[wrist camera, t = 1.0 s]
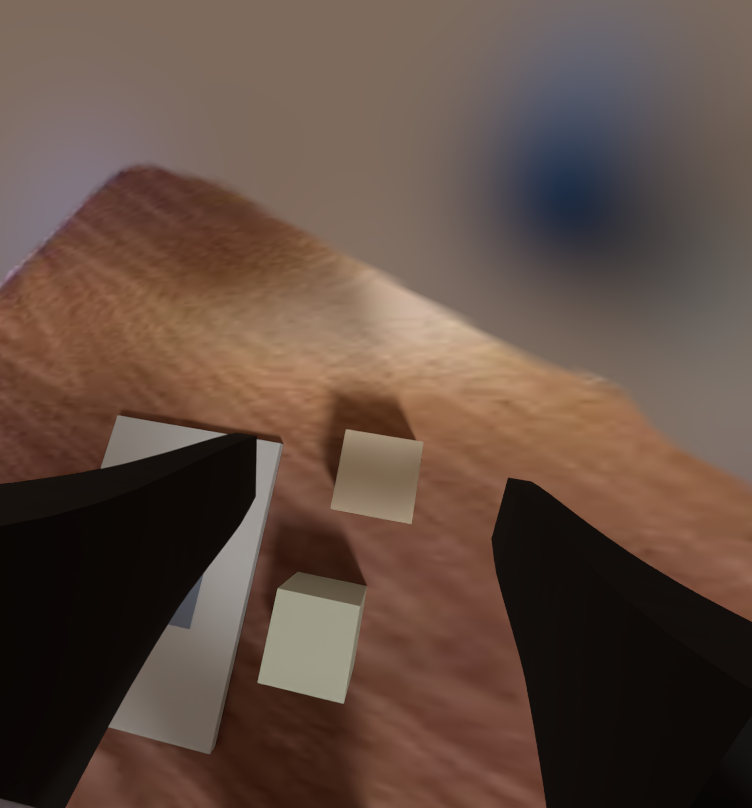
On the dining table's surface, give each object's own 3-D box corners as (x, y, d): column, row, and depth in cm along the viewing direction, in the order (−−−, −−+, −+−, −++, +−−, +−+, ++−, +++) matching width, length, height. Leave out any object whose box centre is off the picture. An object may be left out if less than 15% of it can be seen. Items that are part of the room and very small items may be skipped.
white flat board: (214, 747, 21) (208, 755, 21) (33, 698, 23) (22, 705, 22) (283, 444, 25) (279, 443, 24) (124, 416, 26) (116, 415, 26)
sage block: (353, 665, 22) (343, 703, 18) (282, 648, 22) (257, 682, 19) (367, 585, 23) (360, 606, 19) (298, 571, 23) (277, 588, 19)
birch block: (409, 517, 24) (411, 524, 20) (342, 505, 24) (330, 508, 20) (420, 449, 25) (423, 441, 21) (354, 438, 25) (345, 429, 21)
